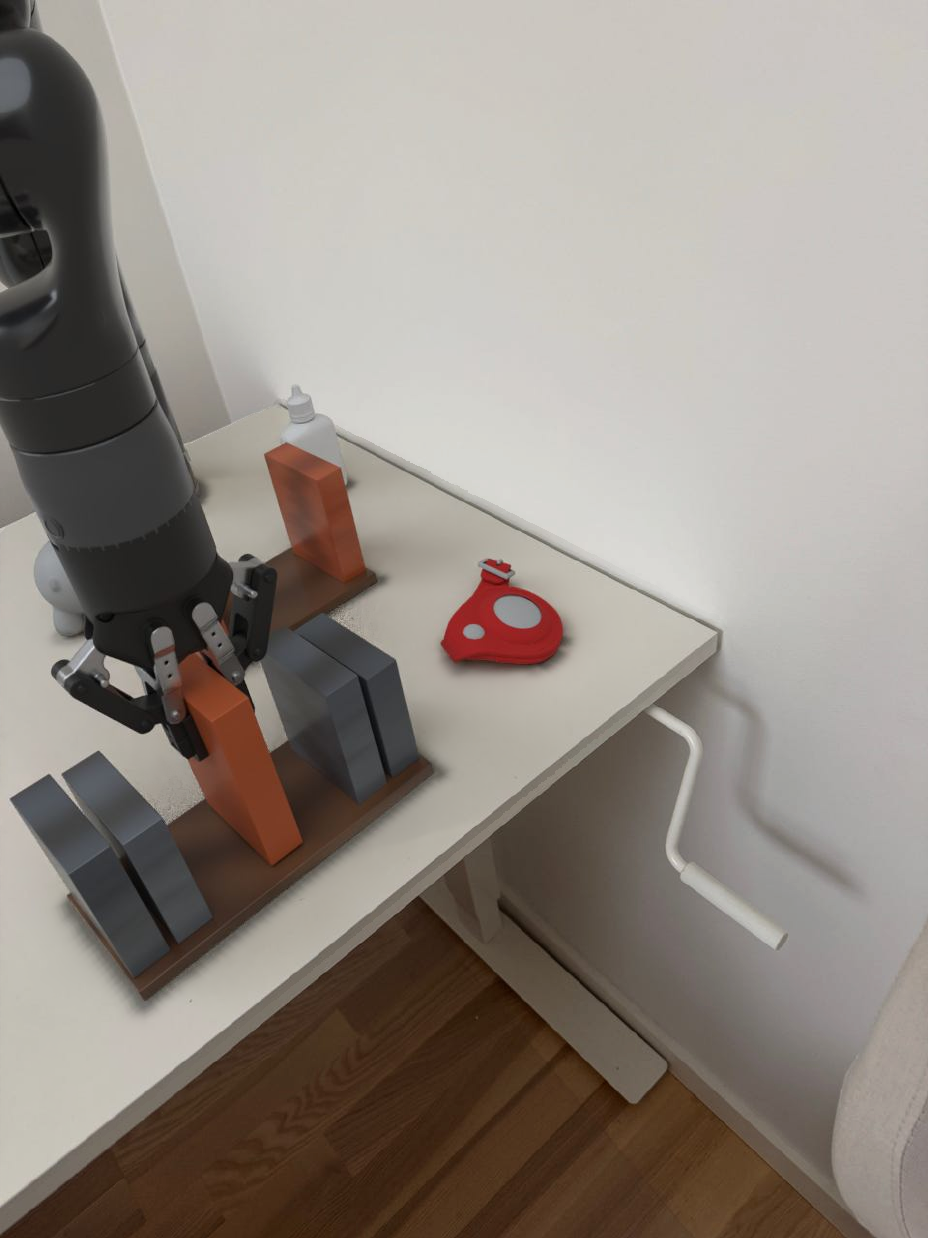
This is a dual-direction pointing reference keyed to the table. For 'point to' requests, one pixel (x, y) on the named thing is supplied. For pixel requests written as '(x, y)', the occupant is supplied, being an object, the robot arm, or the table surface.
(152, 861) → the grey rack
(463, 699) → the table surface
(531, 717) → the table surface
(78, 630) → the toy rhinoceros
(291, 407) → the eye dropper bottle
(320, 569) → the orange rack
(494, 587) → the tracker holder
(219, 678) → the orange book
